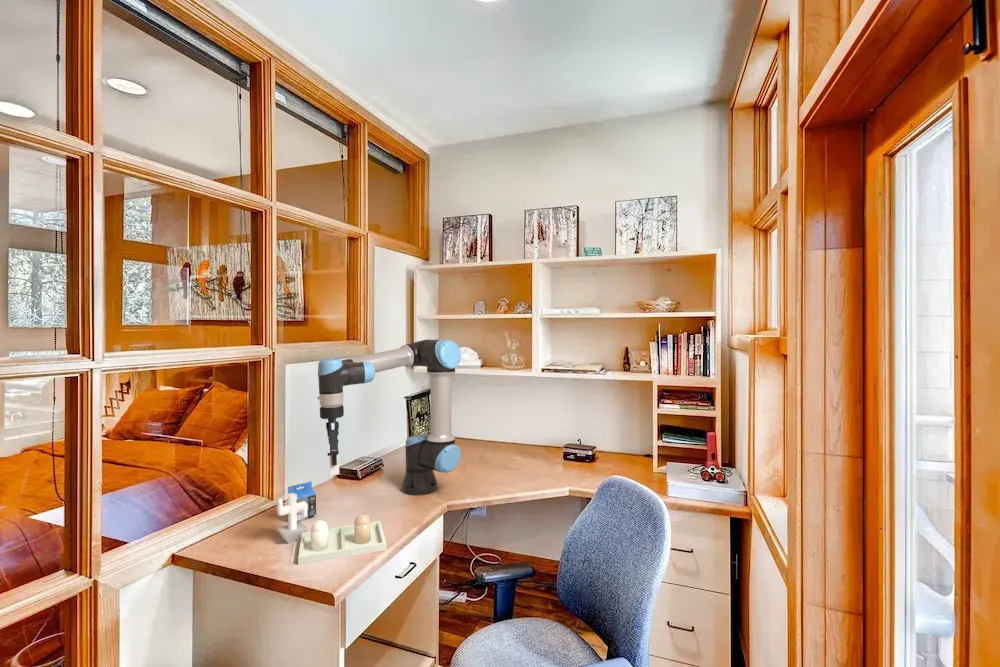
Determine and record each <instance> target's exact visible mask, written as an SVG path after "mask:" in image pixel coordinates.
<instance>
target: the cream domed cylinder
mask: <svg viewBox="0 0 1000 667" xmlns="http://www.w3.org/2000/svg"><path fill="white" fill-rule="evenodd" d="M328 528H329V524H328V523H327V522H326V521H325V520H322V519H319V520H316V521H315V522H313V524H312V525H311V527H310V531H311V550H312V551H315V552H319V551H323V550H325V549H327V548H328Z"/></svg>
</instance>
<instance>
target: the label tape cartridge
mask: <svg viewBox="0 0 1000 667" xmlns="http://www.w3.org/2000/svg"><path fill="white" fill-rule="evenodd" d="M300 487H301V488H300ZM298 488H299V489H298ZM287 491H288V492H287V495H288V494H289V493H295V494H297V500H296V503H298V502H302V501H305V502H306V503H307V517H305V518H303V517H302V512H301V511H297V522H301V521H305V520H309V519H312V518H315V517H317V494H316V492H315V491H314V489H313V484H312V481H307V482H304V483H298V484H295V485H290V486H288V487H287Z"/></svg>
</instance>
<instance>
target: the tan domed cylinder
mask: <svg viewBox="0 0 1000 667" xmlns="http://www.w3.org/2000/svg"><path fill="white" fill-rule="evenodd" d="M370 522H371V518H370V516H369V515H368V514H366V513H360V514H359V515H357V516H356V517H355V519H354V523H353V525H354V538H355V543H356V544H366V543H368V542H370V540H371V525H370Z"/></svg>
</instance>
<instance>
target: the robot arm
mask: <svg viewBox="0 0 1000 667" xmlns="http://www.w3.org/2000/svg"><path fill="white" fill-rule="evenodd" d="M461 360H462V353H461V350H460V347H459V346H458V345H457V343H456V342H454V341H453V340H450V339H422V340H418V341H414V342H411V343H407V344H402V345H401V346H400V347H399V348H394V349H391V350H390V349H389V350H384V351H380V352H376V353H370V354H366V355H362V356H356V357H351V358H345V359H343V360H342V359H341V358H327V359H321V360H319V361H318V364H317V365H318V367H317V378H318V394H319V396H317V400H319V406H320V407H319V417H320V419H322V420H327V422H325V429H326V432H327V434H326V435H327V439H328V440H327V441H328V452H327V457H329V458H328V463H329V470H330V471H329V473H330V475H329V476H335V475H340V458H339V457H340V456H339V454H340V452H339V443H340V442H339V439H338V437H339V433H340V432H339V428H340V423H339V421H337V419H340V418H342V417H343V416H344V414H345V412H344V411H345V408H344V405H343V404H344V403H345V402H344V387H345V386H346V387H347V386H350V385H351V386H354V385H362V384H363V385H364V384H368V383H371V382H372V381H374V379H375V376H376V373H381V372H385V371H389V370H392V369H396V368H397V369H398V368H401V367H405V368H411V367H425V368H426V373H427V374H428V375H429V377H430V434H429V433H427V434H418V435H412V436H409V437H407V438H406V440H405V446H404V447H405V474H404V477H403V481H402V485H401V491H402V492H403V493H404V494H406V495H409V496H411V495H412V496H422V495H427V494H431V493H434V492H435V491H437V490H438V480H437V477H436V474H435V471H436V472H438V473H443V474H448V473H452V472H453V471H454V470H455V469H456V468H457V466H458V465H459V463H460V461H461V458H462V452H461V449H460V448H459V446H458V445H457V444H456V437H455V436H454V435H453V433H452V377H453V375H454V374H455V373H456V368H457V367H458V366H459V365H460V363H461Z"/></svg>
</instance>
